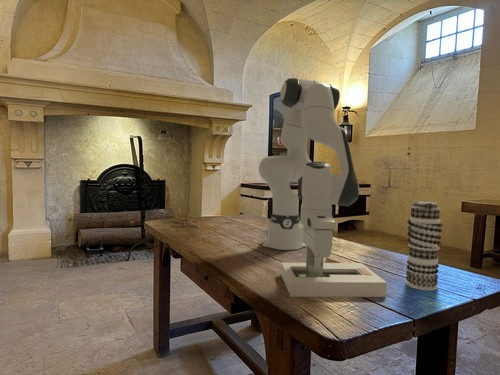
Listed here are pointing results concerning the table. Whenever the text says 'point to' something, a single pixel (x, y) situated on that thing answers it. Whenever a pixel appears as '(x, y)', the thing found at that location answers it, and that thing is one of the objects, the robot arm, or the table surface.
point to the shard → (330, 261)
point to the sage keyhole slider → (310, 268)
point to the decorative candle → (423, 246)
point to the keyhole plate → (333, 281)
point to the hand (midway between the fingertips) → (314, 264)
